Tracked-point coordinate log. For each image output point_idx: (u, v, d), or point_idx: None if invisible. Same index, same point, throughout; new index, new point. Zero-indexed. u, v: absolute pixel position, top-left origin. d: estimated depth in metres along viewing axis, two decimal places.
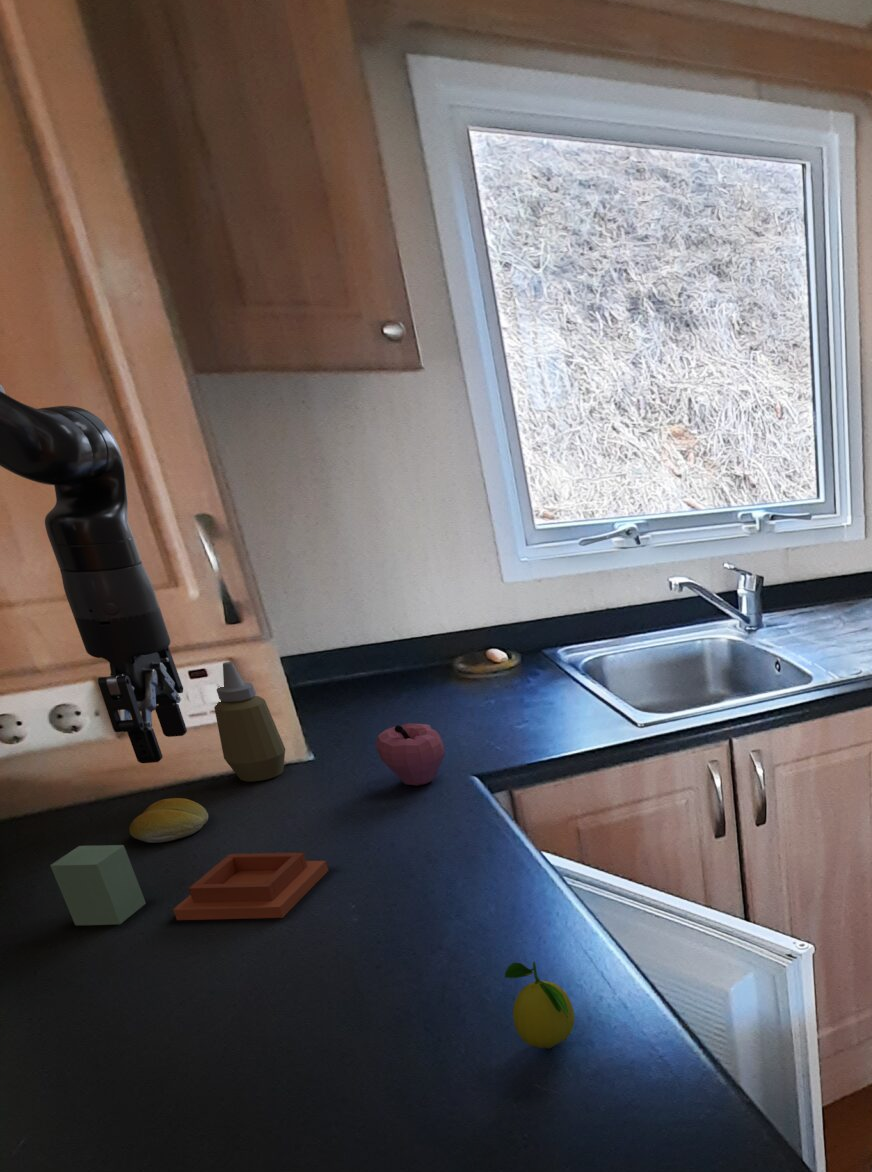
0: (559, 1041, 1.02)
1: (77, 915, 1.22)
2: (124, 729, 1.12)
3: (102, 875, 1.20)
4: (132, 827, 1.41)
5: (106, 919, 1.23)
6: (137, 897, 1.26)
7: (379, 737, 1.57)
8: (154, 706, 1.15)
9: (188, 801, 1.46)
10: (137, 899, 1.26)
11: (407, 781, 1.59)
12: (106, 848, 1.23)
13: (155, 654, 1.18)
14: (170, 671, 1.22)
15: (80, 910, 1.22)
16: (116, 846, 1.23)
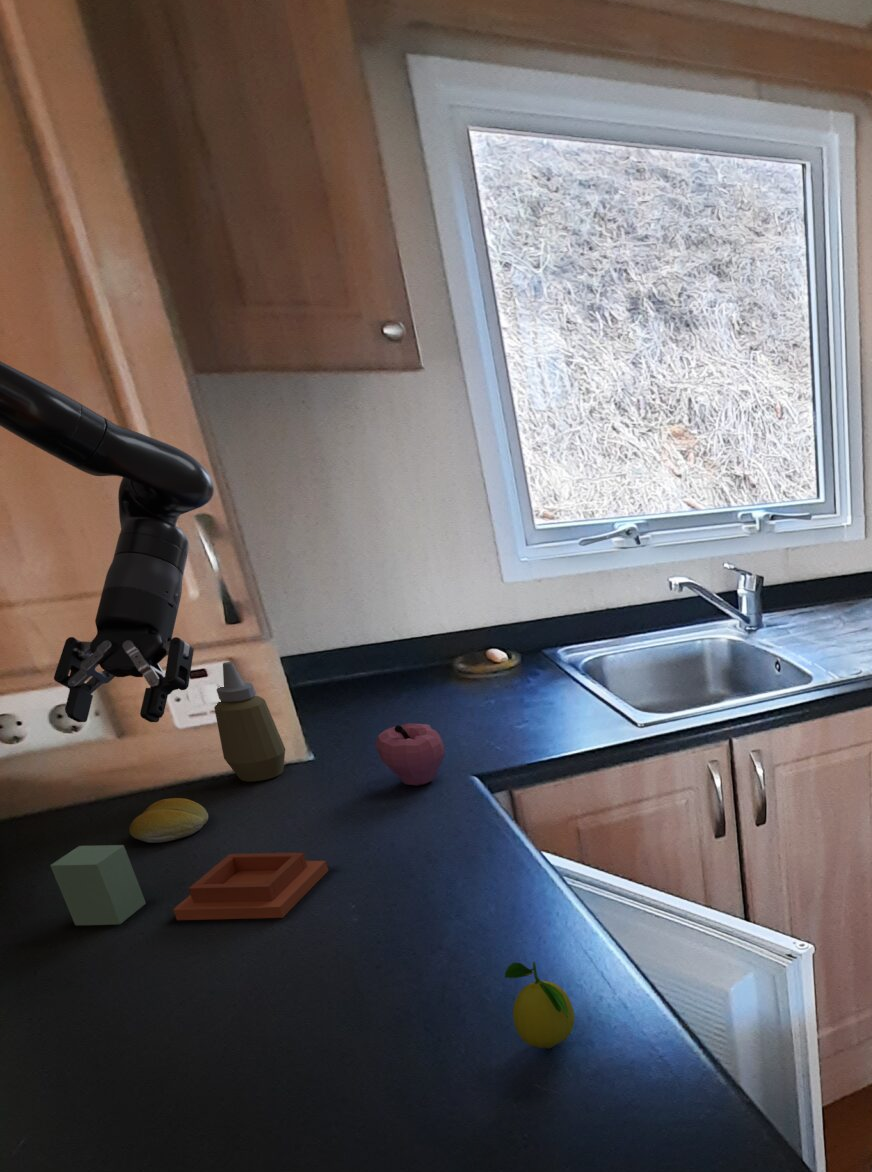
0: (559, 1041, 1.02)
1: (77, 915, 1.22)
2: (178, 682, 1.27)
3: (102, 875, 1.20)
4: (132, 827, 1.41)
5: (106, 919, 1.23)
6: (137, 897, 1.26)
7: (379, 737, 1.57)
8: None
9: (188, 801, 1.46)
10: (137, 899, 1.26)
11: (407, 781, 1.59)
12: (106, 848, 1.23)
13: None
14: None
15: (80, 910, 1.22)
16: (116, 846, 1.23)
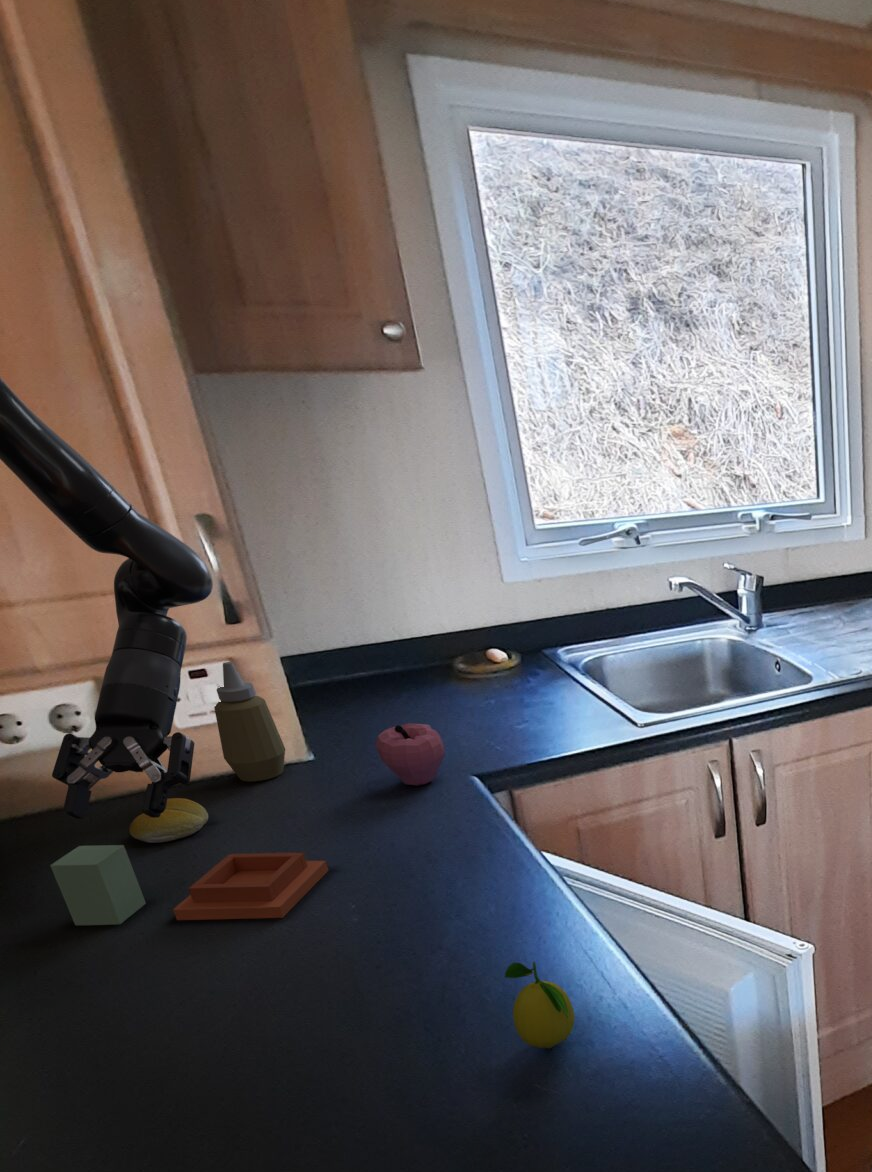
0: (559, 1041, 1.02)
1: (77, 915, 1.22)
2: (180, 777, 1.27)
3: (102, 875, 1.20)
4: (132, 827, 1.41)
5: (106, 919, 1.23)
6: (137, 897, 1.26)
7: (379, 737, 1.57)
8: None
9: (188, 801, 1.46)
10: (137, 899, 1.26)
11: (407, 781, 1.59)
12: (106, 848, 1.23)
13: None
14: None
15: (80, 910, 1.22)
16: (116, 846, 1.23)
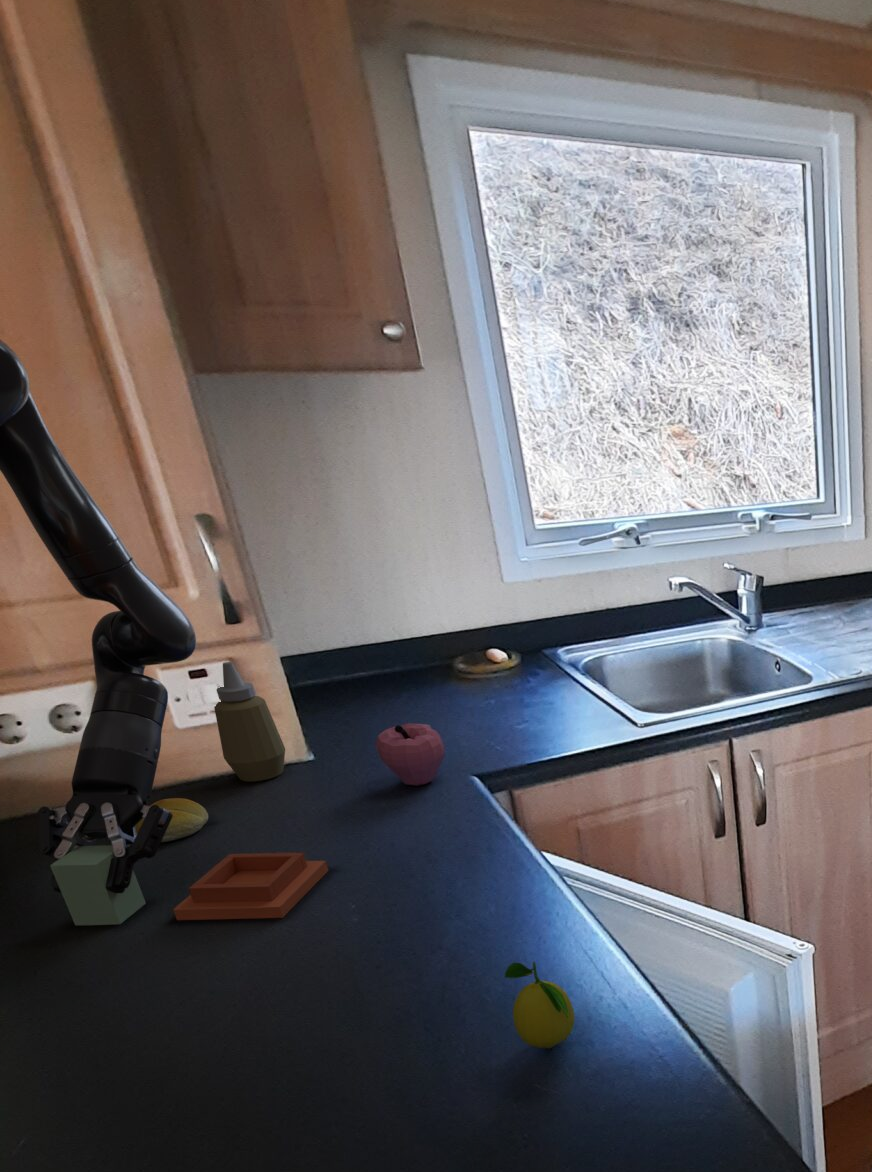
0: (559, 1041, 1.02)
1: (77, 915, 1.22)
2: (145, 851, 1.23)
3: (102, 875, 1.20)
4: None
5: (106, 919, 1.23)
6: (137, 897, 1.26)
7: (379, 737, 1.57)
8: None
9: (188, 801, 1.46)
10: (137, 899, 1.26)
11: (407, 781, 1.59)
12: (106, 848, 1.23)
13: None
14: None
15: (80, 910, 1.22)
16: None
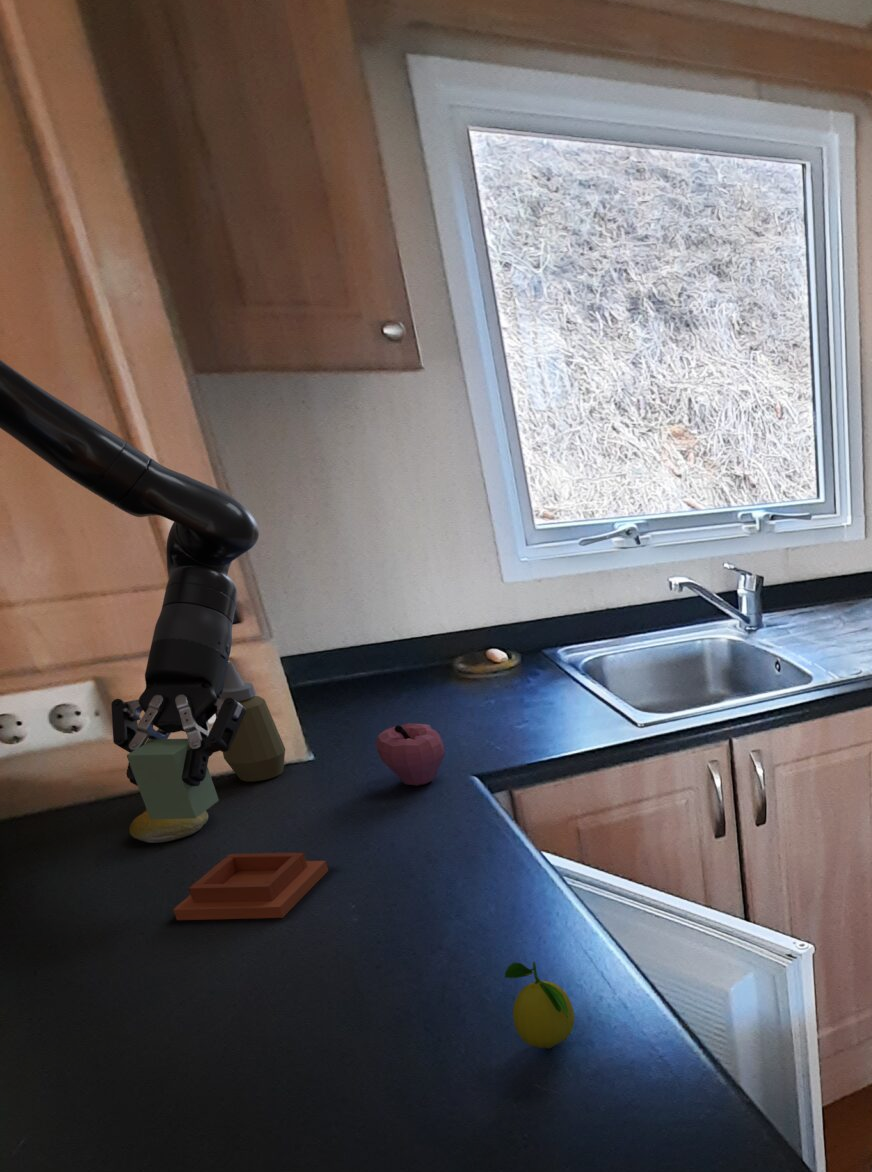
0: (559, 1041, 1.02)
1: (152, 808, 1.20)
2: (221, 743, 1.21)
3: (178, 766, 1.18)
4: (132, 827, 1.41)
5: (181, 812, 1.21)
6: (211, 793, 1.24)
7: (379, 737, 1.57)
8: None
9: None
10: (211, 795, 1.24)
11: (407, 781, 1.59)
12: (180, 741, 1.21)
13: None
14: (136, 729, 1.22)
15: (155, 803, 1.20)
16: None
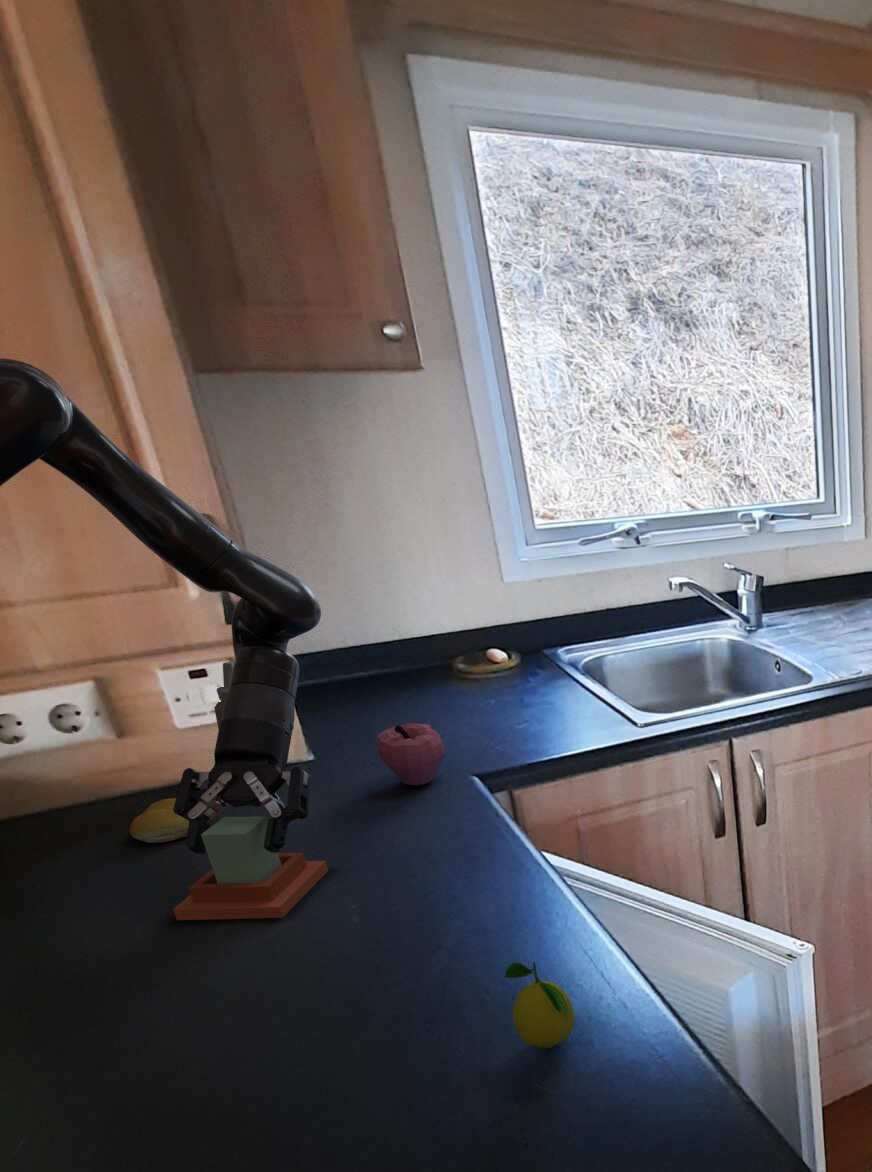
0: (559, 1041, 1.02)
1: (223, 883, 1.26)
2: (300, 812, 1.27)
3: (249, 845, 1.25)
4: (132, 827, 1.41)
5: None
6: (277, 867, 1.30)
7: (379, 737, 1.57)
8: None
9: None
10: (277, 869, 1.30)
11: (407, 781, 1.59)
12: (250, 819, 1.27)
13: None
14: (199, 798, 1.28)
15: (226, 879, 1.26)
16: (259, 817, 1.28)
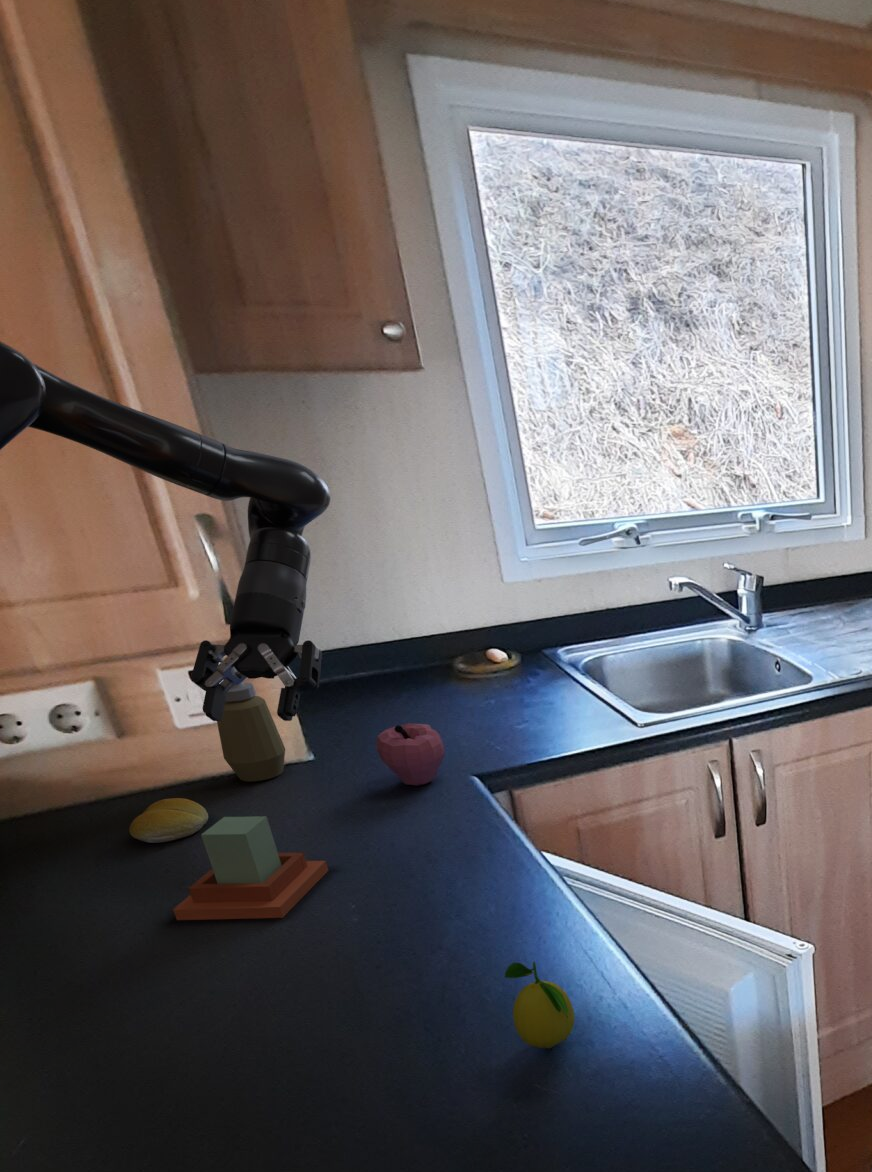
0: (559, 1041, 1.02)
1: (223, 883, 1.26)
2: (311, 682, 1.33)
3: (249, 845, 1.25)
4: (132, 827, 1.41)
5: None
6: (277, 867, 1.30)
7: (379, 737, 1.57)
8: None
9: (188, 801, 1.46)
10: (277, 869, 1.30)
11: (407, 781, 1.59)
12: (250, 819, 1.27)
13: None
14: (215, 670, 1.34)
15: (226, 879, 1.26)
16: (259, 817, 1.28)
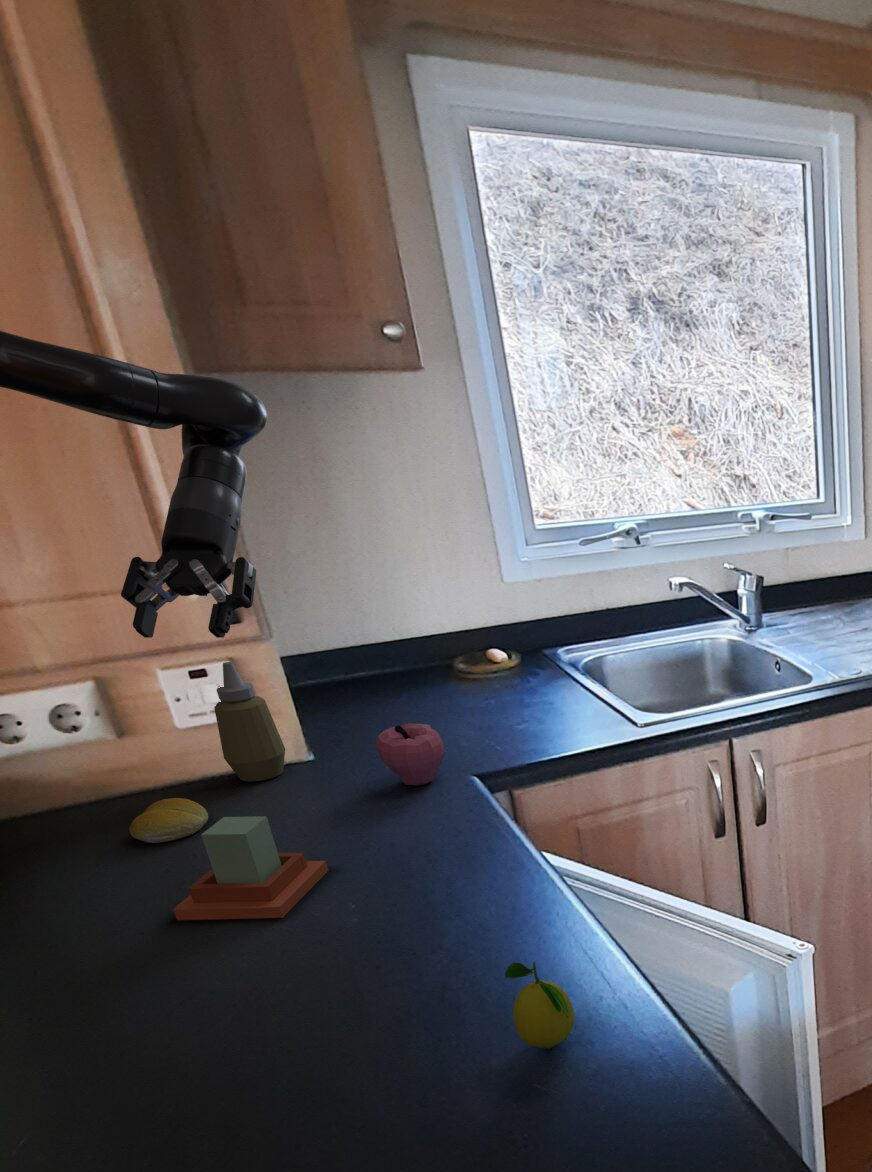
0: (559, 1041, 1.02)
1: (223, 883, 1.26)
2: (244, 599, 1.32)
3: (249, 845, 1.25)
4: (132, 827, 1.41)
5: None
6: (277, 867, 1.30)
7: (379, 737, 1.57)
8: None
9: (188, 801, 1.46)
10: (277, 869, 1.30)
11: (407, 781, 1.59)
12: (250, 819, 1.27)
13: None
14: None
15: (226, 879, 1.26)
16: (259, 817, 1.28)
